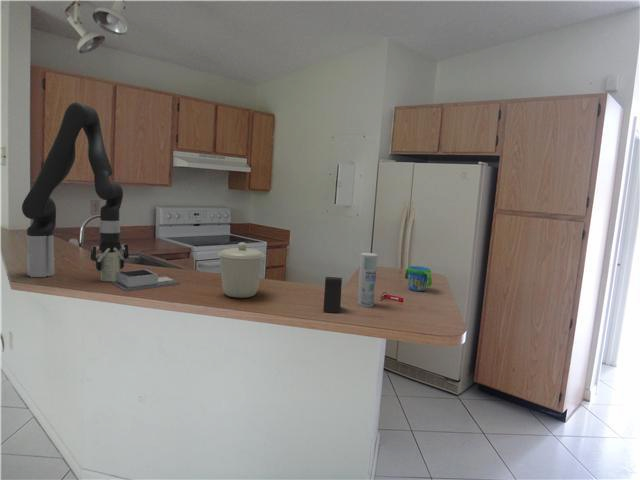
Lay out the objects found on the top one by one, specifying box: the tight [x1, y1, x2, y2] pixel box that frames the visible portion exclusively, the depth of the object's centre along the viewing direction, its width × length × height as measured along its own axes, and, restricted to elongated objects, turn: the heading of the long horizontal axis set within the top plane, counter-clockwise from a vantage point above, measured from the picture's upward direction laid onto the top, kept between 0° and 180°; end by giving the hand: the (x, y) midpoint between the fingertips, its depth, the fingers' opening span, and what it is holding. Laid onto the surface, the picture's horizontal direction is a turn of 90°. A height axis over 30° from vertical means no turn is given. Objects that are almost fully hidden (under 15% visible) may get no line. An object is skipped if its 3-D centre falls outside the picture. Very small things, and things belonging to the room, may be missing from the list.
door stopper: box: [323, 276, 343, 314], centre depth 156 cm, size 9×6×12 cm, turn 179°
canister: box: [217, 241, 266, 299], centre depth 168 cm, size 18×18×21 cm
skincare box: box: [99, 251, 121, 283], centre depth 178 cm, size 6×4×12 cm
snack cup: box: [404, 265, 433, 293], centre depth 195 cm, size 16×10×10 cm
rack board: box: [112, 268, 181, 292], centre depth 176 cm, size 22×14×5 cm, turn 135°
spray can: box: [357, 252, 379, 308], centre depth 165 cm, size 6×6×20 cm
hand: (110, 269), depth 178 cm, fingers open, 8 cm apart
